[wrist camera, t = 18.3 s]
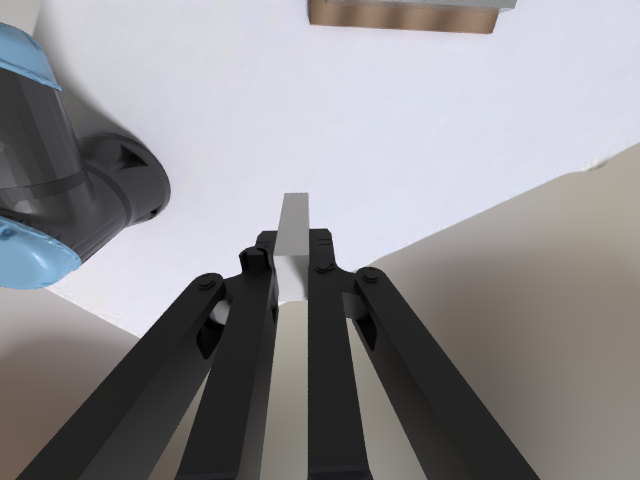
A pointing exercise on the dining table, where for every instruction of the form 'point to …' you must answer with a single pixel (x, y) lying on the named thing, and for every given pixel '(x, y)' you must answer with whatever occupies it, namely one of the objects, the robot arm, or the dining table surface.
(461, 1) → the metal serving tray
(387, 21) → the panel
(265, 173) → the dining table surface
